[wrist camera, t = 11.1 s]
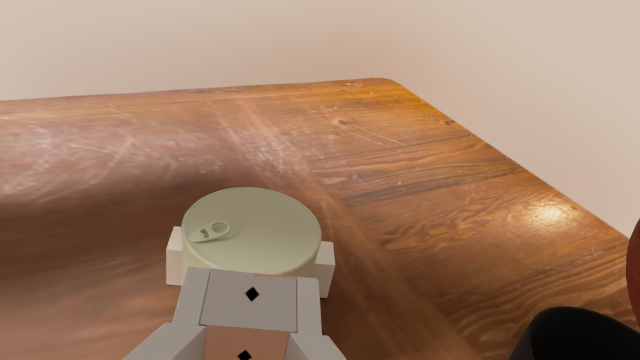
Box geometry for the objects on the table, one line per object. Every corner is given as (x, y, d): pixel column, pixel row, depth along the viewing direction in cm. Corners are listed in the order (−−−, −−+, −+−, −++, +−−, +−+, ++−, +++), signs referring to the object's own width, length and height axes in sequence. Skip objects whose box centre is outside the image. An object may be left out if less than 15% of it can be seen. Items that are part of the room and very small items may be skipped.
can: (164, 314, 38) (163, 192, 32) (269, 284, 43) (286, 172, 36) (201, 414, 32) (208, 287, 25) (319, 367, 36) (350, 249, 30)
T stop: (327, 298, 42) (335, 265, 40) (166, 284, 41) (166, 249, 38) (322, 239, 49) (329, 209, 47) (184, 225, 47) (185, 193, 45)
